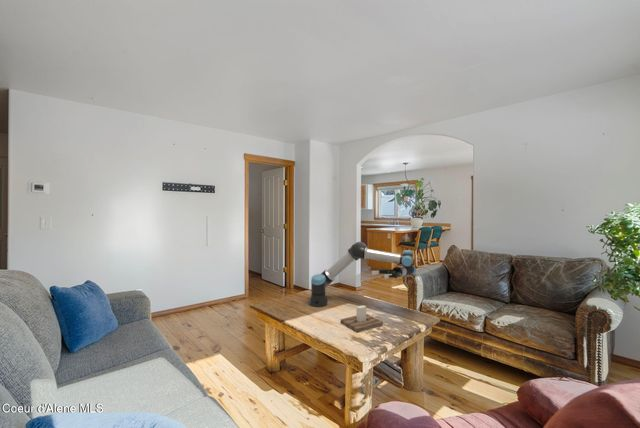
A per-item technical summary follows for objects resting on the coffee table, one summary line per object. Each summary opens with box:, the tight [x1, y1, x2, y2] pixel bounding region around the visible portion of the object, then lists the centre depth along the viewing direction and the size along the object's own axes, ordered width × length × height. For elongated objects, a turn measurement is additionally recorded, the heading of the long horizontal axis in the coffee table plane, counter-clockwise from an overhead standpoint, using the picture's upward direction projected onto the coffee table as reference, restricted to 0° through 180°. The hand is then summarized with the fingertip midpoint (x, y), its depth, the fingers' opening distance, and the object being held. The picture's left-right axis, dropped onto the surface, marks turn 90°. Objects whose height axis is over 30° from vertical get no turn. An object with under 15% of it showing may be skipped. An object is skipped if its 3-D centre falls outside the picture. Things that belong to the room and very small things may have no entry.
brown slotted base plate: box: [340, 313, 383, 333], centre depth 197 cm, size 18×22×2 cm
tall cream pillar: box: [356, 305, 367, 323], centre depth 196 cm, size 3×6×12 cm, turn 121°
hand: (378, 275), depth 212 cm, fingers open, 13 cm apart
